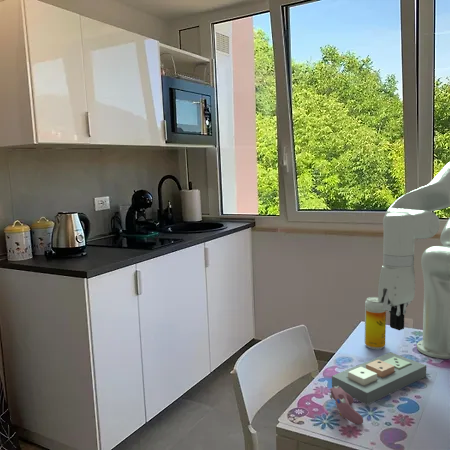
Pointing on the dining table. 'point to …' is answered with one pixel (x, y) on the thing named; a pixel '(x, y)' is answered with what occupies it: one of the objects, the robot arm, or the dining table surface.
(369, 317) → the beer can
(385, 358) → the panel
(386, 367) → the button two
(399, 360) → the button three
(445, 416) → the dining table surface
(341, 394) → the video game controller
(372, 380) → the button one
